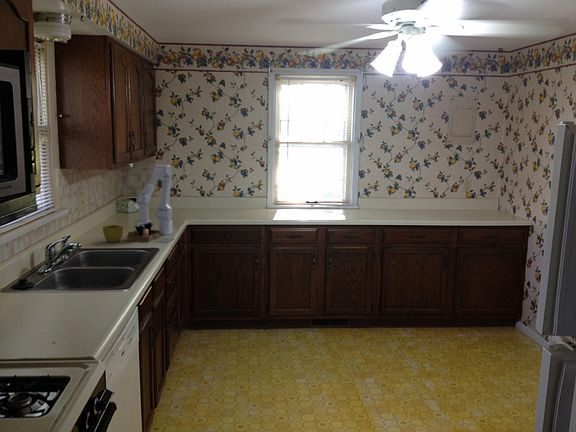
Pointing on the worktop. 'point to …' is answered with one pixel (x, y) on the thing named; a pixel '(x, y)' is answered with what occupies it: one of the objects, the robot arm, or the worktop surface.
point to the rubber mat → (164, 240)
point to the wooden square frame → (144, 236)
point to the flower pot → (113, 232)
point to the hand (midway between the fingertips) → (144, 236)
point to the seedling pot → (145, 232)
